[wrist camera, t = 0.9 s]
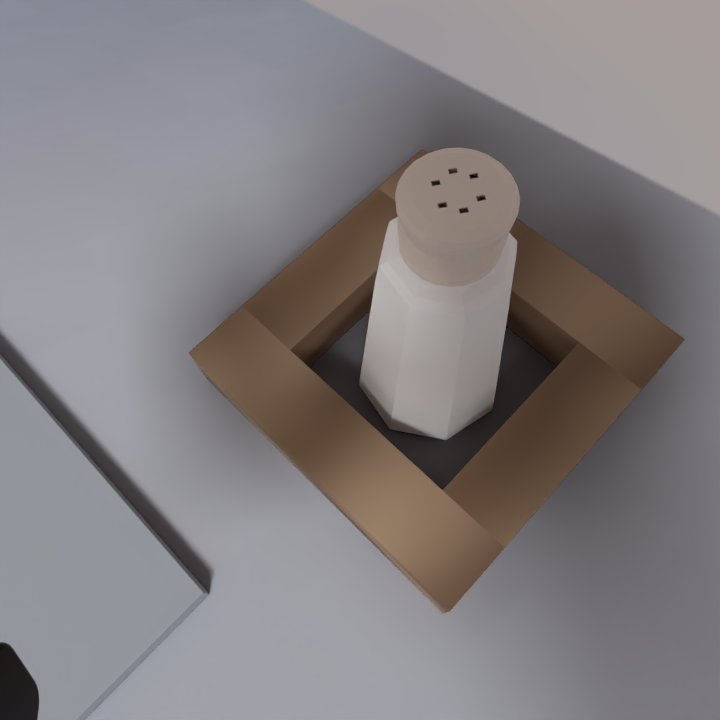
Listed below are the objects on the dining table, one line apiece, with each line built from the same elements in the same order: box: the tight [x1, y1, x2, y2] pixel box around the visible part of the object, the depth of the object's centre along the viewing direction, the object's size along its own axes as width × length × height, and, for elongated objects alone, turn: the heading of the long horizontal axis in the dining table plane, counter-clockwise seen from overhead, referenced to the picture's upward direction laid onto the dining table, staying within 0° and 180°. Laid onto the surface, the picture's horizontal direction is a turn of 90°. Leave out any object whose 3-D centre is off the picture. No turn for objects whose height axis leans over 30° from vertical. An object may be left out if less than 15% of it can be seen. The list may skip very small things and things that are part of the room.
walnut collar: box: [189, 150, 685, 613], centre depth 23 cm, size 12×12×2 cm
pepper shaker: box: [359, 147, 520, 440], centre depth 19 cm, size 5×5×11 cm
